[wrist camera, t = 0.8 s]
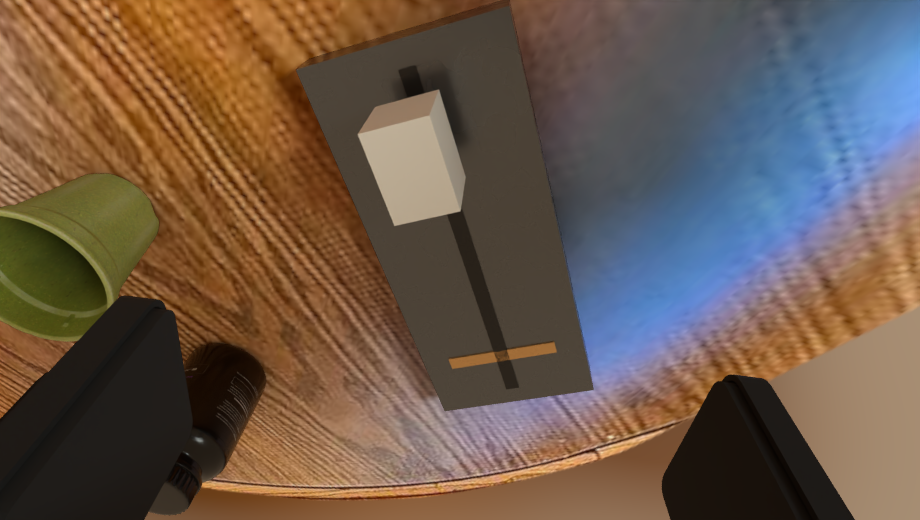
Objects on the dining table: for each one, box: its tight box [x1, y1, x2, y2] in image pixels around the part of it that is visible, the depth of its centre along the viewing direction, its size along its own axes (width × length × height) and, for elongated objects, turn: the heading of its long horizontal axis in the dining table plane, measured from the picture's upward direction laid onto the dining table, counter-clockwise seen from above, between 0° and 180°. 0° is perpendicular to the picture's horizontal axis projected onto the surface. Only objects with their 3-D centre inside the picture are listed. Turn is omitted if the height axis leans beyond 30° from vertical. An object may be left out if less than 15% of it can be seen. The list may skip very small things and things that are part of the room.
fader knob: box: [358, 89, 466, 226], centre depth 28 cm, size 5×4×6 cm
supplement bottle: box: [149, 344, 266, 515], centre depth 42 cm, size 7×7×12 cm
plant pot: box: [0, 174, 159, 342], centre depth 35 cm, size 9×9×9 cm
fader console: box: [296, 0, 594, 411], centre depth 37 cm, size 28×12×3 cm, turn 16°
